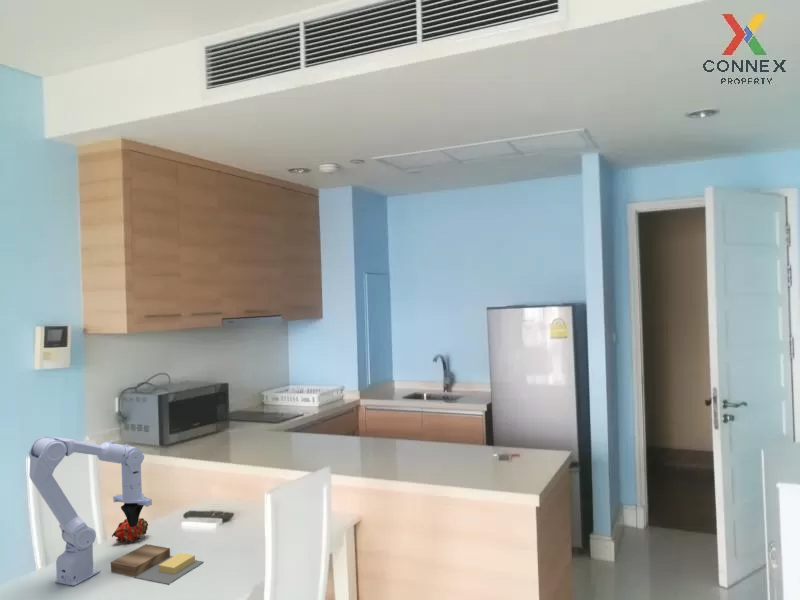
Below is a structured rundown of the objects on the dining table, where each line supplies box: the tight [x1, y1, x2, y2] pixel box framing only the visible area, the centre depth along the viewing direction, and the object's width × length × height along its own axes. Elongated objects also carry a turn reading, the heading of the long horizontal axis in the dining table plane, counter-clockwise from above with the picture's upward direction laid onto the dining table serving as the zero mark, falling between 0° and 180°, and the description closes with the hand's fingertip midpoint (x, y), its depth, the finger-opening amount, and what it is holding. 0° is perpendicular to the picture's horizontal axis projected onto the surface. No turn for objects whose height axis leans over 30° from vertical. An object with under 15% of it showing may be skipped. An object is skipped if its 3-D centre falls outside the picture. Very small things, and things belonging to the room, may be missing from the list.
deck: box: [110, 543, 171, 578], centre depth 187 cm, size 14×10×3 cm
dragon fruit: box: [111, 517, 149, 543], centre depth 206 cm, size 8×8×12 cm
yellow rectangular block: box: [159, 552, 196, 574], centre depth 185 cm, size 9×6×2 cm, turn 158°
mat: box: [134, 555, 205, 586], centre depth 183 cm, size 15×13×1 cm
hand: (133, 525), depth 194 cm, fingers closed
